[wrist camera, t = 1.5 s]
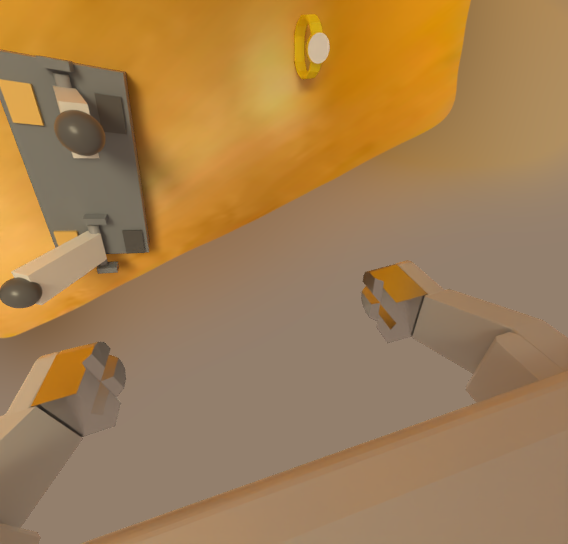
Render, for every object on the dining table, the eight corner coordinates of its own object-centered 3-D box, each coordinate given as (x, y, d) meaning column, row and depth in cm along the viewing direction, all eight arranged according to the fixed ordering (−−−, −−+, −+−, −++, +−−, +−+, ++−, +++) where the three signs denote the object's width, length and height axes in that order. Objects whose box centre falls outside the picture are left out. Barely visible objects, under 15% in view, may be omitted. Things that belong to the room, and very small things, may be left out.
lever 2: (107, 225, 35) (8, 282, 24) (116, 263, 38) (32, 327, 28) (84, 220, 35) (-25, 274, 25) (95, 258, 39) (3, 320, 28)
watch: (307, 75, 37) (327, 81, 33) (289, 76, 36) (306, 83, 32) (309, 14, 33) (332, 13, 29) (288, 15, 32) (309, 14, 28)
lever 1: (80, 76, 27) (99, 93, 19) (95, 141, 30) (115, 178, 22) (39, 70, 25) (41, 86, 17) (59, 139, 29) (68, 179, 21)
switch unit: (125, 69, 30) (121, 71, 27) (151, 253, 44) (150, 270, 40) (-5, 46, 26) (-30, 43, 22) (69, 257, 40) (60, 275, 36)
